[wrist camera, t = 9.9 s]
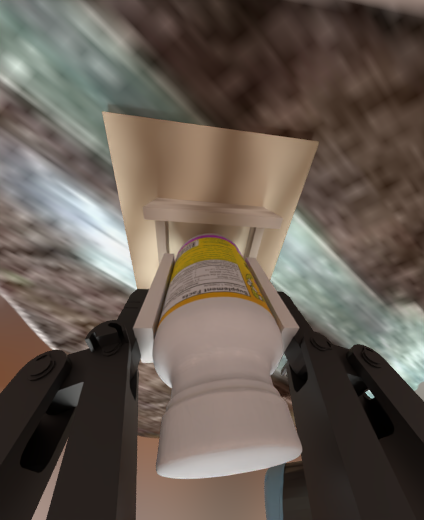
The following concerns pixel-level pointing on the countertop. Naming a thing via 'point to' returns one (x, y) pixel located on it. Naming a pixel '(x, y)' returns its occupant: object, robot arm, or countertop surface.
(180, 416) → the supplement bottle
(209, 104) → the countertop surface
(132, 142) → the bottle dock
